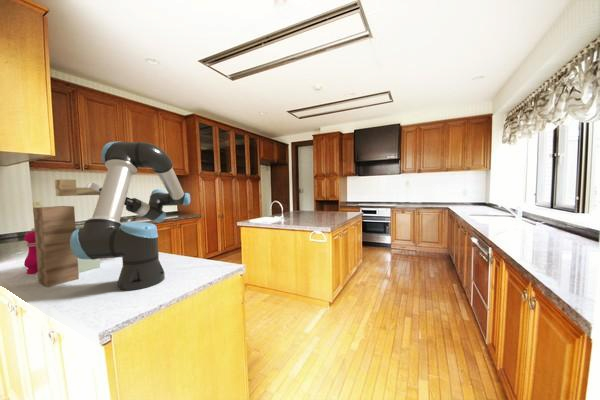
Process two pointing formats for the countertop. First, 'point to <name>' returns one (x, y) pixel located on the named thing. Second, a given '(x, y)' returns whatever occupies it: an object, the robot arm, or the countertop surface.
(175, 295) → the countertop surface
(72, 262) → the walnut post
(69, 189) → the tan tall block
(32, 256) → the pepper mill
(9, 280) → the countertop surface
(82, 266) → the sage box
